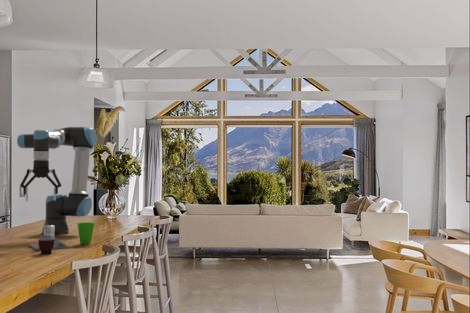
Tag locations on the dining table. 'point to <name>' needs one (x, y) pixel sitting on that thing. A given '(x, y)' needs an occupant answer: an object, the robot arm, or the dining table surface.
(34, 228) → the dining table surface
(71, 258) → the dining table surface
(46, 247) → the mate gourd
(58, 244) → the duct flange
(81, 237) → the cup
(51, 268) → the dining table surface
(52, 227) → the elbow
